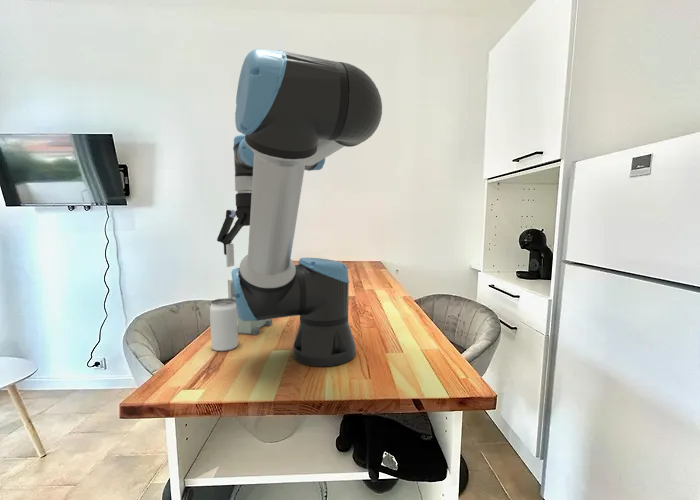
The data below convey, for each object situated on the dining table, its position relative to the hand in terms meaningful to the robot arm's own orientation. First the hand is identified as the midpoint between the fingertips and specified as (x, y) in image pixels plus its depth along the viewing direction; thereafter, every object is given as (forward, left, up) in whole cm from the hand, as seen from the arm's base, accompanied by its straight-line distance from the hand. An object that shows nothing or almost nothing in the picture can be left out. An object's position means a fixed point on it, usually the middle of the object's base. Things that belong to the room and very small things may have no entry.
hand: (251, 267), depth 102 cm
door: (0, 0, -18) cm, 18 cm away
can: (-14, 0, -19) cm, 23 cm away
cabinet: (+4, +4, -18) cm, 19 cm away
